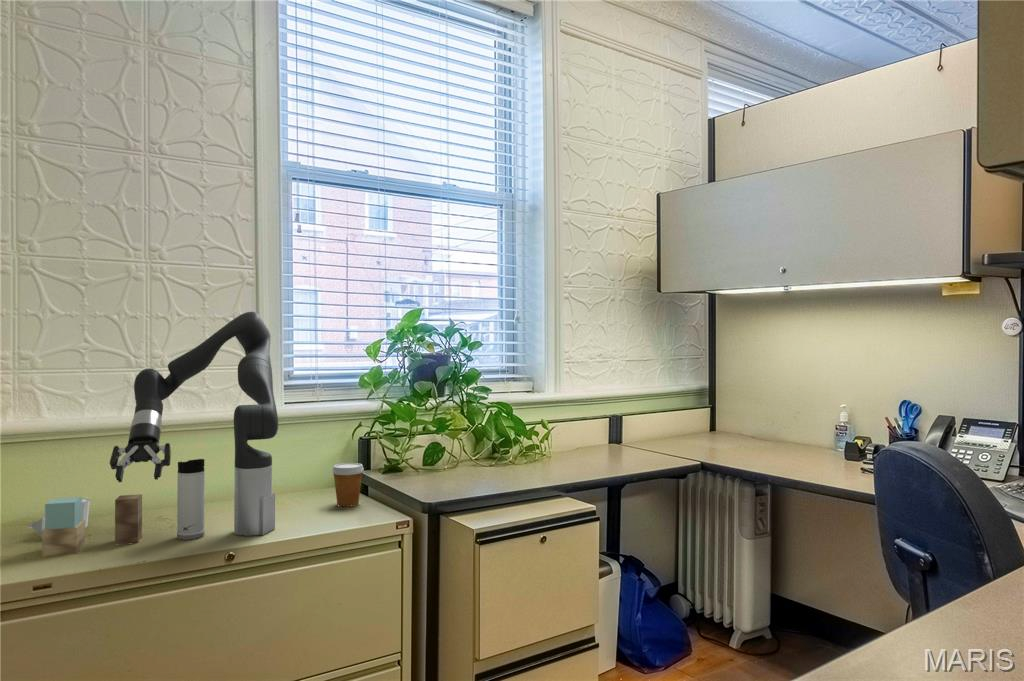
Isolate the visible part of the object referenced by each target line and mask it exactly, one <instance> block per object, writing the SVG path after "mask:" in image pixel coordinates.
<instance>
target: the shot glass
mask: <svg viewBox="0 0 1024 681" xmlns="http://www.w3.org/2000/svg"><path fill="white" fill-rule="evenodd" d="M90 504H91V499H89V498H82V521H85V528H87V527H88V522H89V516H90V514H89V513H90ZM86 526H87V527H86Z"/></svg>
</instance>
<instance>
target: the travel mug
mask: <svg viewBox="0 0 1024 681" xmlns="http://www.w3.org/2000/svg"><path fill="white" fill-rule="evenodd" d="M205 472H206V470H205V458H197V459H188V460H187V461H177V490H176V491H177V492H176V493H177V501H176V503H177V504H176V505H177V506H176V507H177V511H176V512H177V515H176V517H177V521H176V522H177V526H176V530H177V534H176V535H177V536H176V537H177V539H179V540H181V539H182V541H191V540H190V539H192V540H196V538H197V539H201V538H202V537H204V536H205V507H206V506H205V503H206V502H205V486H206V484H205V483H206V480H205V479H206V478H205V475H206V474H205Z"/></svg>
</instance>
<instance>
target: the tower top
mask: <svg viewBox="0 0 1024 681" xmlns="http://www.w3.org/2000/svg"><path fill="white" fill-rule="evenodd" d="M82 499H83V496H74V497H73V496H70V497H58V498H57V497H55V498H52V499H50V500H49V501H47V502H46V503H45V504H44V515H45V530H50V529H64V528H75V527H76V526H77V525H78V524H79V523H81V522H82Z"/></svg>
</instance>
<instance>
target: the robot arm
mask: <svg viewBox="0 0 1024 681" xmlns="http://www.w3.org/2000/svg"><path fill="white" fill-rule="evenodd" d="M234 337H235V338H236V339H237V341H238V342H239V344H240V345H241V347H242V349H243V350H244V354H245V356H243V357H242V359H240V361H239V363H238V365H237V384H238V387H240V389H241V390H242V392H244V393H245V394H246V396H248V397H249V398H251V400H253V401H254V402H255V403H256V404H241V405H237V406H236V407H235V409H234V411H233V433H234V434H233V436H234V480H233V482H234V484H233V485H234V487H233V489H234V490H233V491H234V492H233V494H234V501H233V502H234V503H233V504H234V506H233V507H234V509H233V511H234V512H233V516H234V518H233V519H234V520H233V521H234V525H233V527H234V528H233V529H234V530H233V531H234V534H235V535H237V536H242V535H244V536H245V537H249V536H251V537H252V536H261V535H262V536H263V535H266V534H268V533H270V532H271V531H273V530H275V529H276V493H275V492H273V456H272V455H271V453H269V452H266V451H263V450H259V449H256V448H254V447H252V445H250V444H249V443H248V441H257V440H258V441H259V440H269V439H273V438H274V437H276V435H277V433H278V431H279V417H278V416H279V415H278V411H277V405H276V401H275V396H274V385H273V384H274V383H273V381H274V379H273V372H272V371H273V368H272V362H271V361H272V360H271V355H270V347H271V333H270V330H269V329H268V327H267V325H266V324H265V323H264V321H263V320H262V318H261V316H260V315H259V314H258V313H257V312H256V311H248V312H247V311H246V312H244V313H242V314H240V315H238V316H235V318H233V319H232V320H230V321H229V322H228V323H227V324H225V325H223V327H221V328H220V329H219V330H217V331H216V332H214V333H213V334H212V335H211V336H210V337H209V338H207V339H205V340H204V341H202V343H200V344H199V345H197V346H195V347H194V348H193V349H191V350H189V351H187V352H186V353H184V354H181V355H180V356H178V357H176V358H175V359H173V360H172V361H170V362H169V363H168V364H167V369H168V371H169V374H168V375H167V376H166V377H163V375H162V374H161V373H160V372H159V371H158V370H157V369H154V368H150V367H149V368H145V369H143V370H141V371H140V372H139V373H138V374H137V375H136V376H135V378H134V383H133V390H134V391H133V392H134V399H135V408H134V413H133V414H134V415H133V417H132V421H131V424H130V430H129V436H128V442H127V446H125V447H119V446H118V445H114V446H113V449H112V452H111V456H110V460H109V465H110V469H111V470H116V471H115V475H114V476H115V478H116V481H117V482H118V483H122V482H123V479H124V472H125V469H126V468H127V467H129V466H131V465H132V464H133V463H135V464H136V463H141V462H142V463H148V462H149V461H150V462H152V464H153V465H155V466H154V473H153V478H154V480H156V481H157V480H159V478H161V477H162V473H163V468H164V467H169V466H170V465H171V456H172V449H171V448H172V447H171V444H170V442H167V443H165V444H164V445H160V440H161V439H160V438H161V433H162V432H161V431H162V426H163V425H162V424H163V423H162V422H163V421H162V417H163V411H164V403H163V401H164V400H166V399H167V398H169V397H170V396H171V395H172V394H173V393H174V392H175V391H176V390H177V389H178V388H180V386H181V385H182V384H184V383H185V382H186V381H187V380H190V379H191V378H193V377H194V376H195V377H196V375H198V374H199V373H201V372H203V371H204V370H206V369H207V368H208V367H209V365H210V364H212V362H213V360H214V358H215V357H216V355H217V354H218V352H219V350H221V348H222V347H223V346H224V344H225V343H227V342H228V341H229V340H230V339H232V338H233V339H234ZM160 451H161V452H162V454H164V458H163V459H160V457H158V455H157V454H159V452H160ZM124 453H125V454H124ZM123 454H124V455H123ZM122 455H123V456H122ZM120 457H122V458H121V459H120ZM119 459H120V460H119ZM244 536H243V537H244Z"/></svg>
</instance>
